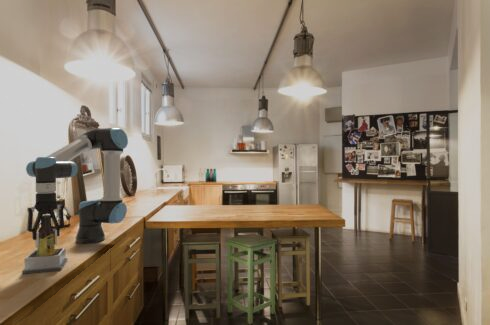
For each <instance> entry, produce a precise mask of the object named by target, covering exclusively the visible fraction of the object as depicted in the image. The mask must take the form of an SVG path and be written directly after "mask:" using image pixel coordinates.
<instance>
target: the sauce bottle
mask: <svg viewBox="0 0 490 325" xmlns="http://www.w3.org/2000/svg"><path fill="white" fill-rule="evenodd" d="M38 229H39V230H37V231H38V232H39V248H37V250H38V257H42V256H53V255H54V249H55V244H54V231H53V229H54V228H53V226H52V218H51V215H50V214H43V216H42V218H41V221H40V228H38Z"/></svg>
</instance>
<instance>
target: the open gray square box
mask: <svg viewBox="0 0 490 325" xmlns="http://www.w3.org/2000/svg"><path fill="white" fill-rule="evenodd" d="M66 253H67V252H66V247H58V248H55V247H54V255H53V256H42V257H38V249H33V250H32V251H31V252H29V254H28V255H27V256H25V257H24V269H22V272H21V274H22V275H29V274H38V273H49V272H60V271H62V270H63V268H64V267H65V265H66V264H65V263H67V262H68V261H67V260H69V259H68V257H66V256H67V255H66ZM59 270H60V271H59Z"/></svg>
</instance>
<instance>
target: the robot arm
mask: <svg viewBox="0 0 490 325" xmlns="http://www.w3.org/2000/svg"><path fill="white" fill-rule="evenodd" d="M128 138H129V137H128V135H127V133H126V132H125V130H123V129H122V128H118V127H105V128H94V129H91V130H89V131H87V132H83V133H82V134H81V135H78V136H77V137H76V139H75V140H74V141H72V142H70V143H68V144H67V145H65V146H63V147H62V148H59V149H57V150H56V151H54V152H52V153H51V154H49V155H47V156H38V157H36V158H35V160H33V161H29V162H28V163H27V165H26V168H25V171H26V174H27V175H28V176H30V177H31V178H35V192H36V193H35V204H34V205H33V206H31V207H27V209H26V210H27V213H28V215H27V228H26V231H28V232H29V233H31V235H32V237H31V238H32V240H33V241H34V242H35V248H37V249H38V248H39V232H38V231H39V230H38V229H39V226H40V225H41V218H42V216H44V215H51V222H52V224H53V225H54V228H53V231H54V246H55V245H58V237H60V229H62V228H64V227H65V219H64V208H65V206H64V204H58V203H57V193H56V191H57V185H56V184H57V179H60V178H61V179H63V178H72V177H75V176H76V175H77V174H78V170H79V169H78V164H77V163H76V162H75V161H72V160H74V159H75V158H76V157H79V156H80V155H81V154H84V153H88V152H90V151H91V150H96V149H100V152H101V153H102V154H103V195H102V196H103V197H101V199H99V198H98V199H92V200H84V201H81V202H80V203H79V205H78V230H77V234H76V236H75V243H77V244H91V243H93V244H94V243H98V242H102V241H104V240H106V236H105V231H104V229H103V226H102V223H103V224H119V223H122V221H124V219H125V218H126V214H127V211H128V207H127V204H126V203H124V202H123V198H122V197H121V196H120V193H121V192H120V191H121V189H120V188H121V155H122V153H124V149H126V148H127V146H128V143H129V142H128V141H129V140H128ZM56 208H57V210H58V219H57V217H56V215H55V209H56ZM35 210H36V211H37V212H38V213H37V214H36V215H37V216H36V218H35V222H34V224H33V219H34V218H33V217H34V213H35ZM58 220H59V222H58Z"/></svg>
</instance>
